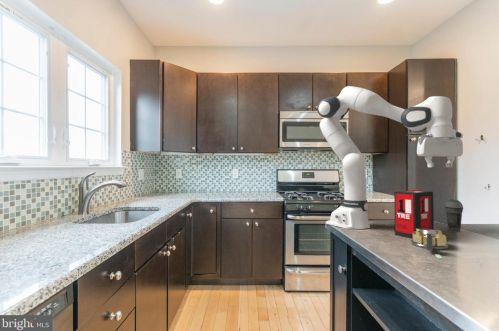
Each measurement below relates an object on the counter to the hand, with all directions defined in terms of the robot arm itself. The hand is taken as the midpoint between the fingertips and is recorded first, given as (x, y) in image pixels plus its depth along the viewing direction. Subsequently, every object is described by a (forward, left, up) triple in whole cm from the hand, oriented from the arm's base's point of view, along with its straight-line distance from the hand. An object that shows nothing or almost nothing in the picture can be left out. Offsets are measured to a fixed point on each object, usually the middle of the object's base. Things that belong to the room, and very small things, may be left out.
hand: (440, 167), depth 106 cm
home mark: (+4, -23, -31) cm, 39 cm away
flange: (-2, -9, -31) cm, 32 cm away
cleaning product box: (-11, +6, -31) cm, 34 cm away
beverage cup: (-1, +28, -31) cm, 42 cm away
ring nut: (-1, -13, -30) cm, 32 cm away
